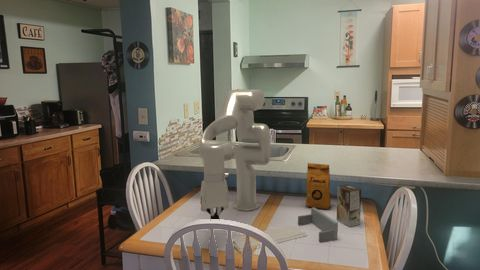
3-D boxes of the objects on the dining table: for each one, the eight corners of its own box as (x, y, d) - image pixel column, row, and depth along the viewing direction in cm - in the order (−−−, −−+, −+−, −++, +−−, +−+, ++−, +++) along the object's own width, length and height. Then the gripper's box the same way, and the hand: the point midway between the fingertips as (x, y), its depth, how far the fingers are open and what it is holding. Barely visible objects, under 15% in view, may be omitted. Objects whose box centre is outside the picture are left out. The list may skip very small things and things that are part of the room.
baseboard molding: (309, 238, 147) (292, 228, 158) (309, 232, 147) (292, 221, 158) (241, 256, 134) (227, 243, 144) (241, 248, 133) (227, 236, 144)
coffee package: (328, 211, 175) (329, 167, 171) (303, 207, 180) (304, 164, 177) (332, 205, 184) (334, 162, 180) (308, 201, 189) (309, 160, 186)
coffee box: (360, 224, 159) (362, 189, 157) (349, 227, 157) (350, 191, 154) (346, 217, 167) (348, 183, 165) (335, 219, 165) (336, 185, 162)
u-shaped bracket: (297, 224, 160) (298, 209, 159) (313, 222, 162) (314, 207, 161) (319, 242, 143) (320, 225, 142) (337, 239, 145) (338, 222, 144)
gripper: (230, 173, 140) (231, 218, 143) (192, 176, 135) (193, 223, 138) (236, 178, 133) (237, 225, 135) (196, 181, 128) (197, 231, 131)
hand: (215, 224), depth 137 cm, fingers closed
